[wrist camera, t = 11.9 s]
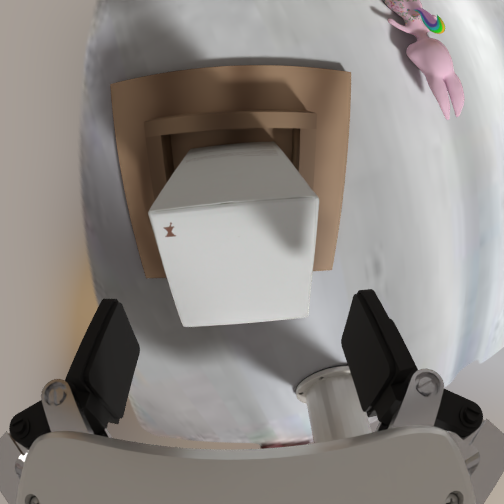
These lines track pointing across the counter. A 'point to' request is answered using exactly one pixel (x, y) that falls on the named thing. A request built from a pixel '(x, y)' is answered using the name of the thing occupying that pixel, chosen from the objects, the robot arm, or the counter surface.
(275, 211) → the supplement box
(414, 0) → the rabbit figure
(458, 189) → the counter surface
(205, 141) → the walnut holder
